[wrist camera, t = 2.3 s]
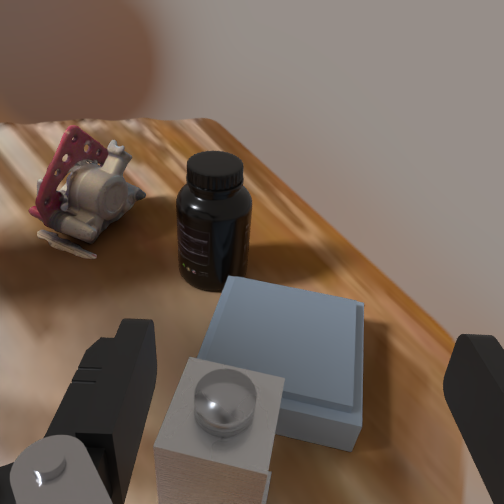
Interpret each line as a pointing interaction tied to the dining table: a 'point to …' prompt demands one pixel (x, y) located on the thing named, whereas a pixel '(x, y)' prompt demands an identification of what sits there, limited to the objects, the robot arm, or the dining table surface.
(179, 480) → the block
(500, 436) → the robot arm
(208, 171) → the supplement bottle
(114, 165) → the brake caliper
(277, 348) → the stand
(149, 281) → the dining table surface
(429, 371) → the dining table surface
